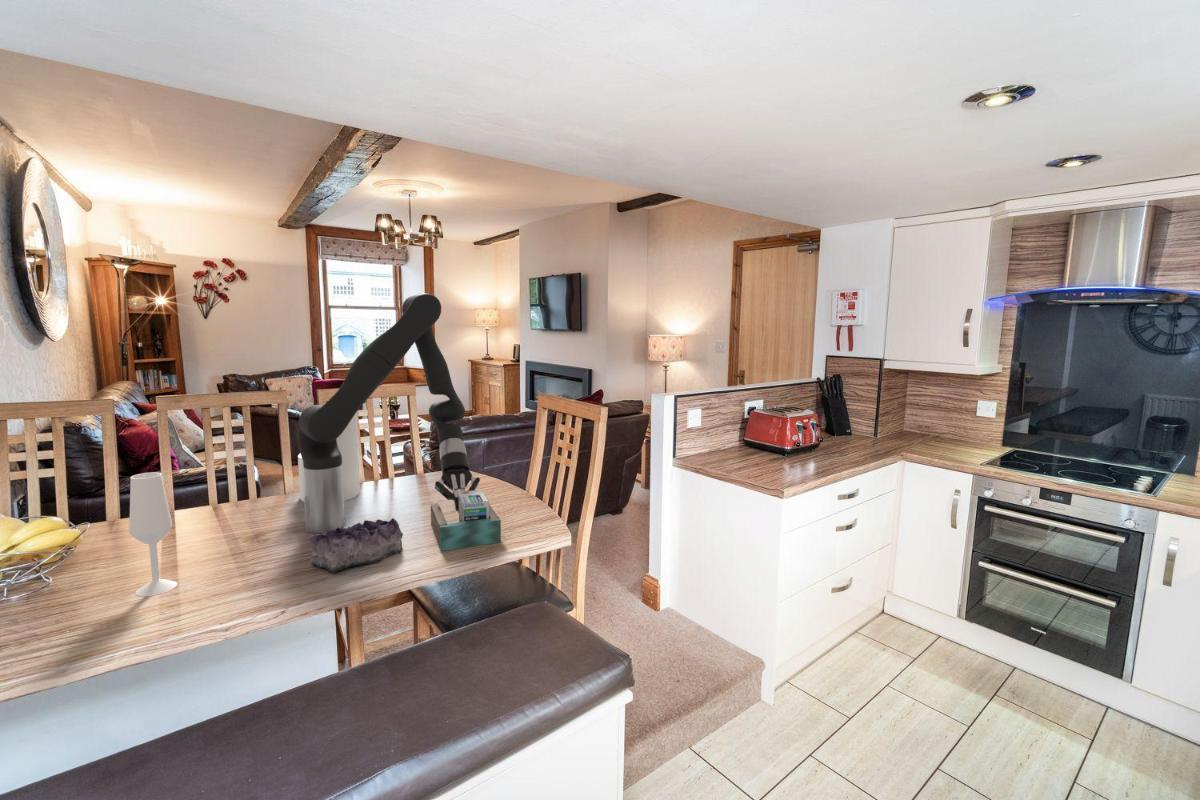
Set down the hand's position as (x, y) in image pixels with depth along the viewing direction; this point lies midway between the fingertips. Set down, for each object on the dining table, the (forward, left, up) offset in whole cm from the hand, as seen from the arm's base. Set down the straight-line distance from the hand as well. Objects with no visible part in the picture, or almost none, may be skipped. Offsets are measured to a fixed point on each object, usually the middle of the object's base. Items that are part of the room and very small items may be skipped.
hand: (461, 511), depth 146 cm
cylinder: (-34, +44, -5) cm, 56 cm away
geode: (-26, -11, -5) cm, 28 cm away
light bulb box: (+2, -6, -5) cm, 8 cm away
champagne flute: (-64, -11, -5) cm, 65 cm away
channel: (0, -4, -5) cm, 6 cm away
